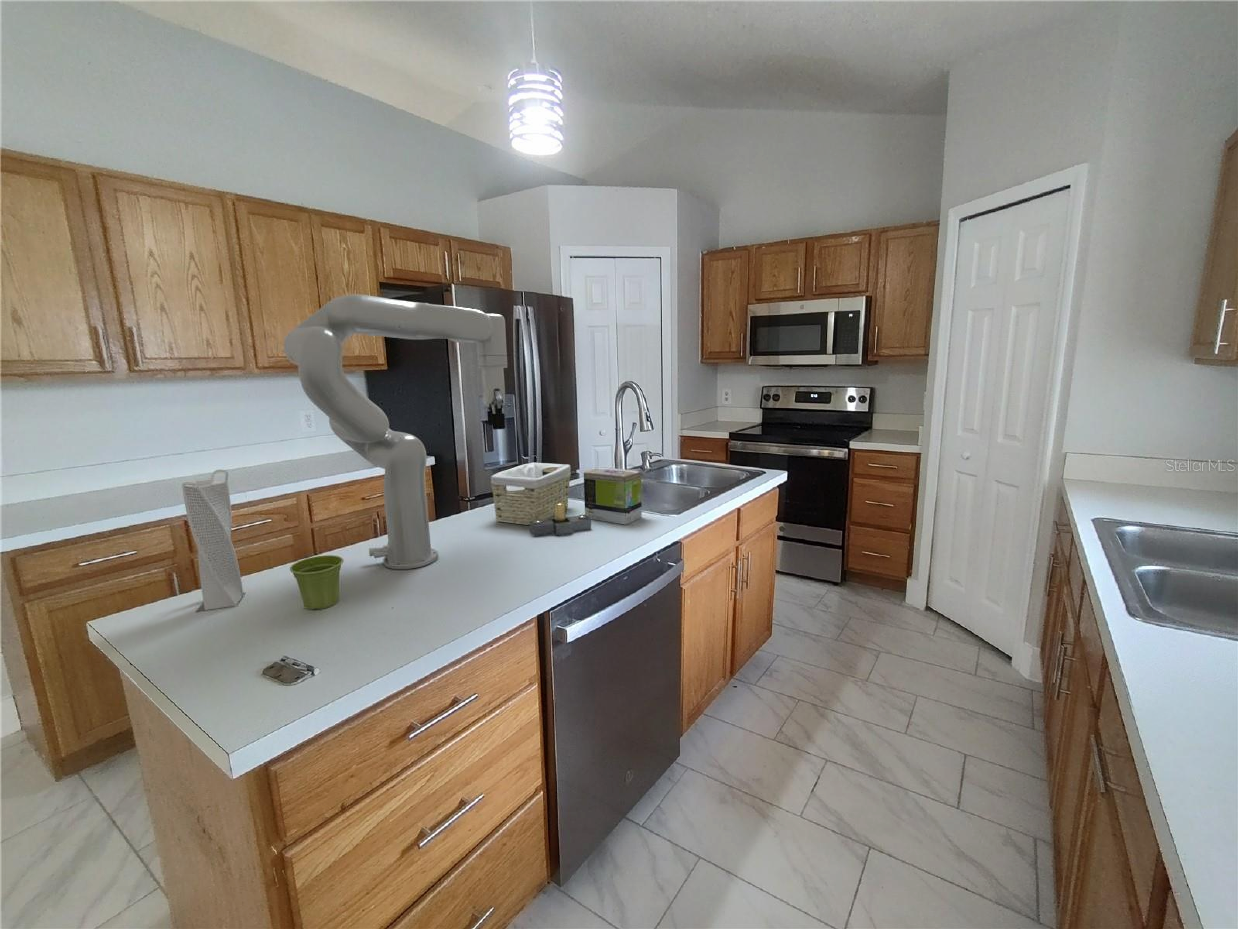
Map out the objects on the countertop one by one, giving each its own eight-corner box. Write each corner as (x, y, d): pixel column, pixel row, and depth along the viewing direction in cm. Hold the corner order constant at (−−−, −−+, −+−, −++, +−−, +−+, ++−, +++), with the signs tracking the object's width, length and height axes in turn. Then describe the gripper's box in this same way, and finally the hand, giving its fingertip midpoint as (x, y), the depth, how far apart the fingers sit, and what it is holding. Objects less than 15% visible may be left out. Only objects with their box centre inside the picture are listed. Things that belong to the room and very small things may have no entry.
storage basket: (531, 503, 187) (529, 460, 184) (574, 507, 181) (573, 463, 178) (490, 523, 165) (487, 475, 162) (538, 529, 159) (535, 479, 156)
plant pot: (357, 599, 114) (352, 560, 112) (312, 618, 106) (307, 576, 104) (330, 590, 119) (325, 552, 117) (285, 607, 111) (279, 567, 109)
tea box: (642, 517, 169) (642, 470, 166) (625, 526, 161) (625, 476, 158) (602, 510, 177) (601, 465, 174) (583, 518, 169) (582, 471, 166)
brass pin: (556, 532, 155) (555, 505, 154) (553, 529, 158) (552, 502, 157) (567, 531, 156) (566, 504, 155) (564, 528, 159) (563, 501, 158)
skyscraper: (253, 593, 119) (234, 465, 113) (243, 608, 111) (222, 473, 106) (207, 599, 116) (184, 469, 110) (193, 616, 108) (169, 477, 103)
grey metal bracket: (535, 538, 150) (534, 526, 150) (529, 529, 158) (528, 517, 158) (593, 531, 156) (592, 519, 155) (584, 522, 164) (584, 511, 163)
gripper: (474, 362, 152) (478, 424, 155) (481, 363, 136) (486, 431, 140) (502, 361, 155) (505, 422, 158) (512, 362, 139) (515, 430, 142)
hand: (496, 426), depth 149 cm, fingers open, 9 cm apart
